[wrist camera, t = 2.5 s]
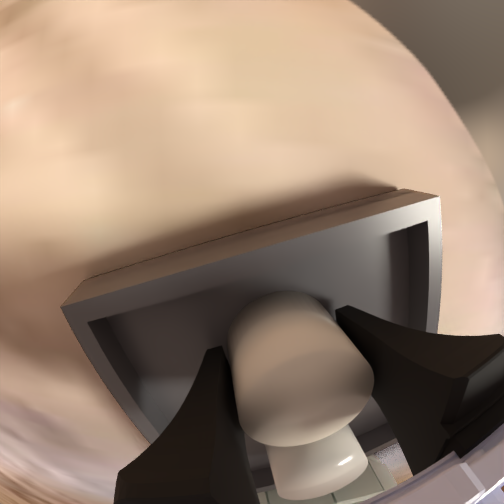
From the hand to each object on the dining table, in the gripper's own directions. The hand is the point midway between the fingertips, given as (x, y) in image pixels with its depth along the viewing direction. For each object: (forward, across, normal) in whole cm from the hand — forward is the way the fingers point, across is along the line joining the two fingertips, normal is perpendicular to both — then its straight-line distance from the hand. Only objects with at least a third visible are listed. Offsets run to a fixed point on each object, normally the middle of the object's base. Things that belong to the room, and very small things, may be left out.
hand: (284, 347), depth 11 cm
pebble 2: (+1, 0, +6) cm, 6 cm away
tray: (+2, 0, +3) cm, 4 cm away
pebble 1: (+1, 0, 0) cm, 1 cm away
